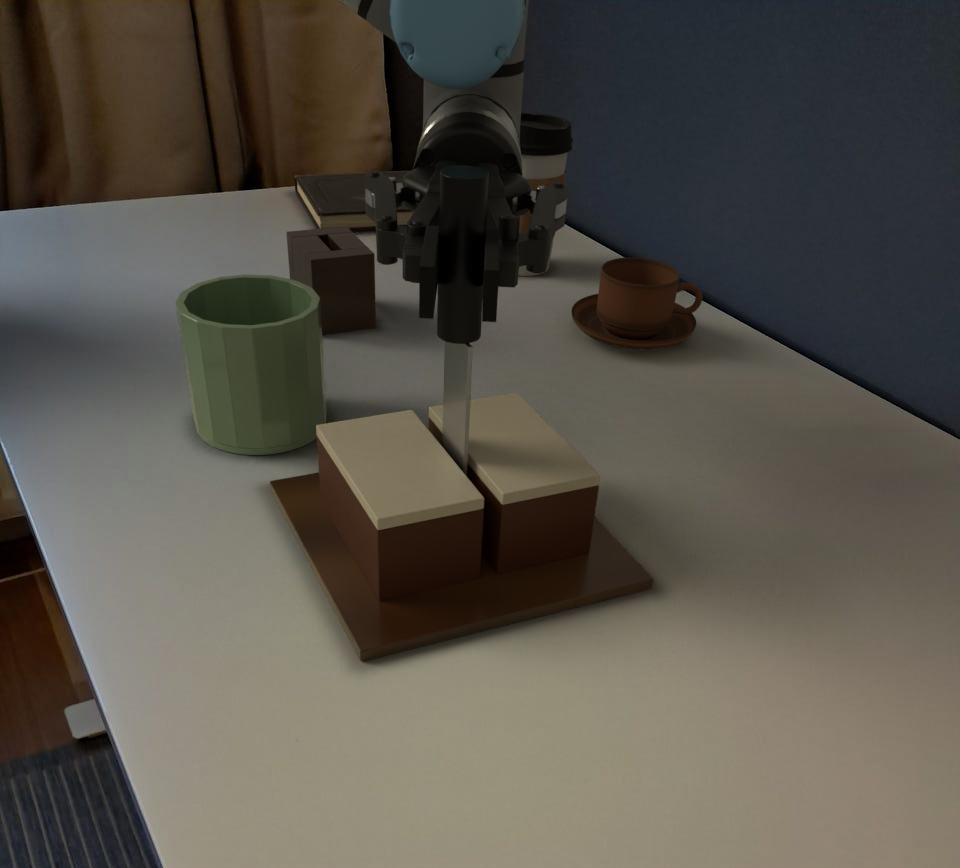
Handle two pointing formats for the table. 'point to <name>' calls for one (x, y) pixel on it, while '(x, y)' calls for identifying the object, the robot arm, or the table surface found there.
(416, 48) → the robot arm
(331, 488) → the block
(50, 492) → the table surface
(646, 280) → the cup and saucer
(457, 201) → the knife
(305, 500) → the cake board
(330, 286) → the knife block
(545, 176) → the coffee cup
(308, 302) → the cup
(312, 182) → the hardcover book
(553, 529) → the cake slice
